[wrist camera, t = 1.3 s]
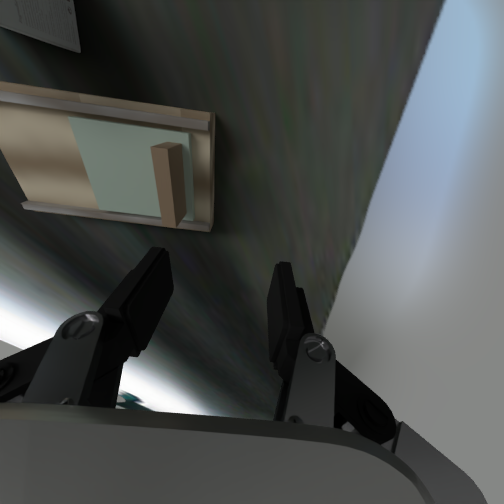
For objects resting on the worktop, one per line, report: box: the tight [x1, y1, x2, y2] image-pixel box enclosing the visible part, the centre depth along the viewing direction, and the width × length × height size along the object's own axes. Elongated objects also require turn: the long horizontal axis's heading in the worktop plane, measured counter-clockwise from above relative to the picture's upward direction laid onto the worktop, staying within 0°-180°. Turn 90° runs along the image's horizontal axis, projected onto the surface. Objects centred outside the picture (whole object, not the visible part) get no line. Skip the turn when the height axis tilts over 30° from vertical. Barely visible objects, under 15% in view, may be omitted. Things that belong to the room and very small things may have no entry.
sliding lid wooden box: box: [0, 81, 215, 232], centre depth 24 cm, size 14×24×4 cm, turn 83°
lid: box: [68, 116, 195, 228], centre depth 22 cm, size 10×12×5 cm
